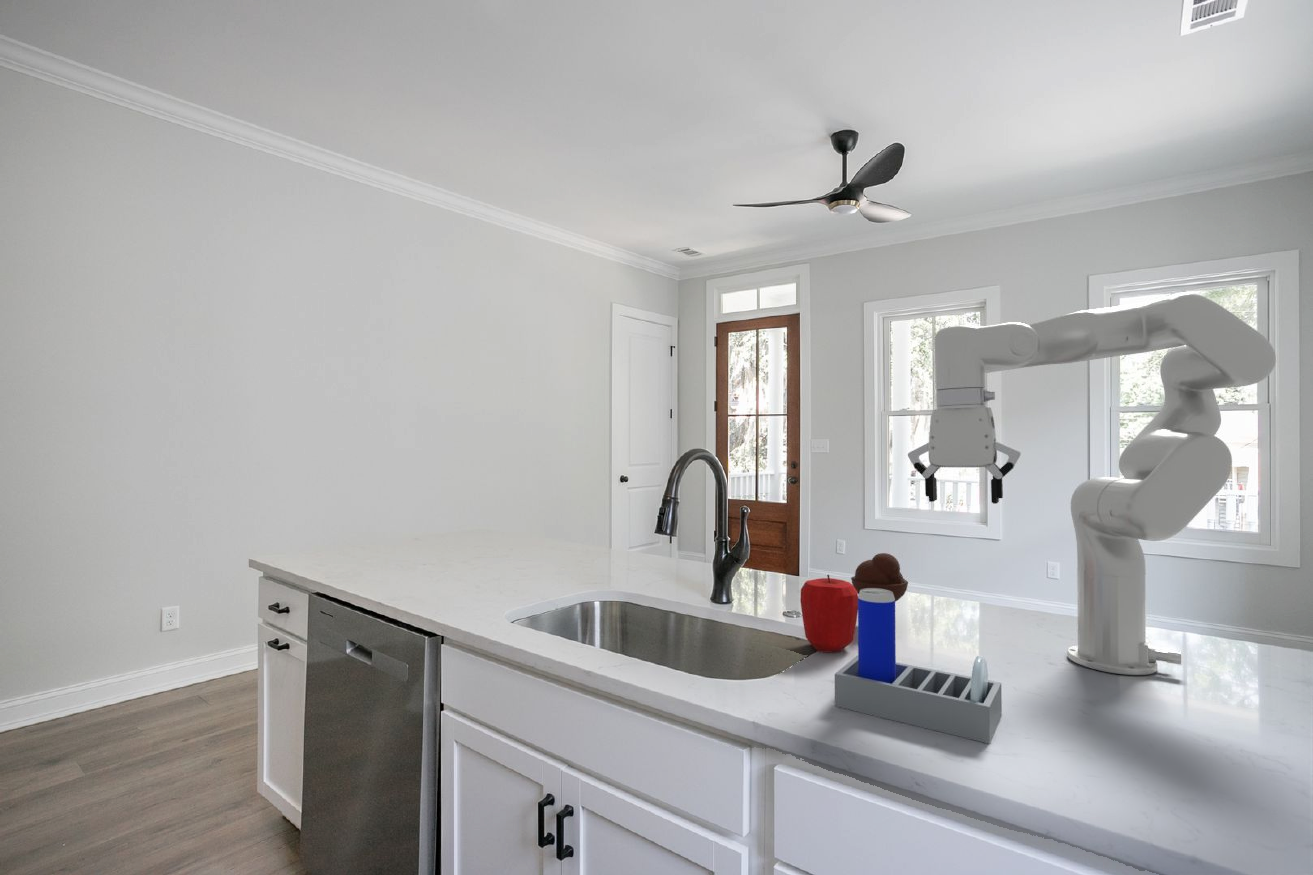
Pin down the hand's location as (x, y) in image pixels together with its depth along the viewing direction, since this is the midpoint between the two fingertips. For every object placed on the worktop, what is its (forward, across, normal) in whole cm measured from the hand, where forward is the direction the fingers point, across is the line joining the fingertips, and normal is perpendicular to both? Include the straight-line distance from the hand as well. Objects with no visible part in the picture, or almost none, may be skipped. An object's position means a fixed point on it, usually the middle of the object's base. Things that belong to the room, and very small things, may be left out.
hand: (963, 501), depth 110 cm
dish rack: (+27, +3, +24) cm, 36 cm away
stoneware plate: (+26, -5, +24) cm, 36 cm away
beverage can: (+26, +8, +24) cm, 36 cm away
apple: (+27, +22, +4) cm, 36 cm away
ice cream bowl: (+28, +19, -16) cm, 37 cm away
